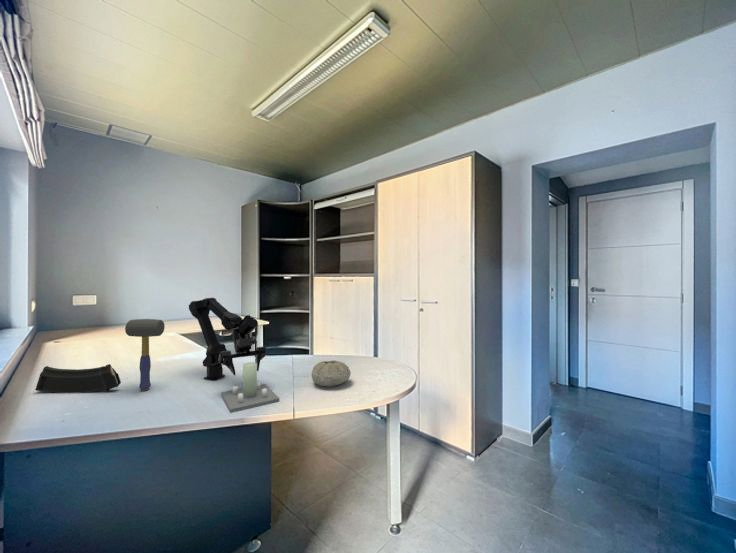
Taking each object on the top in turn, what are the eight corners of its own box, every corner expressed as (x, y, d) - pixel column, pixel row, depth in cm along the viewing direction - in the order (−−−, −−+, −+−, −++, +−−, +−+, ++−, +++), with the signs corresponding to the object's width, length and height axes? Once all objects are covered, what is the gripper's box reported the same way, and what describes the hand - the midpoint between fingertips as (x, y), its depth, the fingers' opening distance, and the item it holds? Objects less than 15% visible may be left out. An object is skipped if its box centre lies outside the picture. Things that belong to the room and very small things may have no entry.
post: (239, 396, 122) (240, 365, 122) (248, 391, 127) (249, 361, 127) (250, 398, 121) (251, 367, 121) (259, 393, 126) (259, 363, 125)
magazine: (28, 371, 124) (104, 349, 126) (36, 368, 127) (110, 347, 130) (41, 411, 125) (117, 389, 127) (49, 408, 128) (123, 386, 130)
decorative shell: (319, 375, 153) (319, 355, 153) (354, 378, 149) (354, 358, 149) (305, 388, 135) (305, 366, 135) (344, 392, 132) (344, 369, 132)
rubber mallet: (165, 386, 135) (166, 317, 134) (155, 393, 127) (156, 320, 127) (134, 386, 133) (135, 317, 133) (123, 393, 126) (123, 320, 125)
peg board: (220, 395, 126) (221, 385, 126) (265, 386, 137) (265, 377, 137) (230, 412, 112) (230, 401, 111) (279, 401, 122) (279, 390, 122)
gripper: (220, 332, 126) (225, 366, 117) (266, 328, 137) (273, 359, 128) (216, 347, 133) (220, 380, 124) (260, 342, 143) (267, 372, 135)
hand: (246, 372), depth 128 cm, fingers open, 9 cm apart
